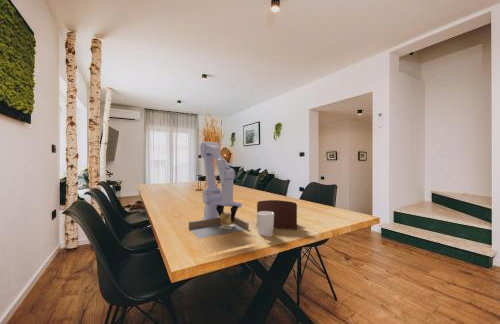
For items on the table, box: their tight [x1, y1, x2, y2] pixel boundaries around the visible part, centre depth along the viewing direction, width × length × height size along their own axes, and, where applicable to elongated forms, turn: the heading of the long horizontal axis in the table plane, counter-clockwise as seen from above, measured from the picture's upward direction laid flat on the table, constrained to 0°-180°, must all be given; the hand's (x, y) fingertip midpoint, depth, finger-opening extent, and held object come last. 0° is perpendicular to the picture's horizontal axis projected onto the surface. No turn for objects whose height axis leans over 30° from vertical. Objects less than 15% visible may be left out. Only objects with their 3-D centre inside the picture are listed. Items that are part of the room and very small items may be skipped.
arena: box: [188, 215, 250, 239], centre depth 103 cm, size 16×24×4 cm, turn 121°
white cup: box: [256, 211, 274, 238], centre depth 97 cm, size 8×8×10 cm
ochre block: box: [220, 211, 233, 225], centre depth 106 cm, size 5×5×5 cm
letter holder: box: [256, 199, 298, 231], centre depth 112 cm, size 10×20×14 cm, turn 80°
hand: (227, 221), depth 106 cm, fingers closed on ochre block, 5 cm apart
